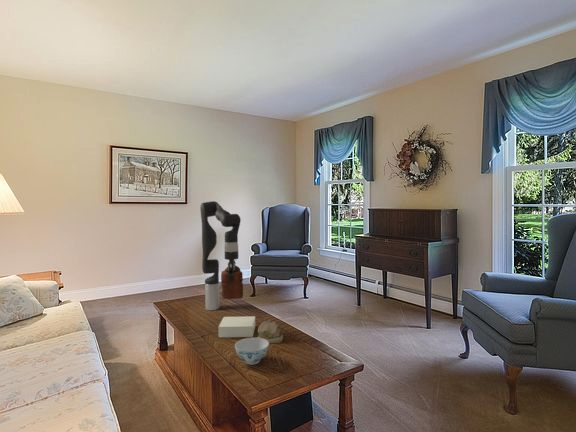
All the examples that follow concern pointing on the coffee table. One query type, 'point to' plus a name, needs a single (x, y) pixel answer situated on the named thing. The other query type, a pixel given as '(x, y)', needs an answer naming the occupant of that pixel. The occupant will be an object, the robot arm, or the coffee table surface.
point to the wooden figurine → (232, 284)
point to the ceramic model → (270, 332)
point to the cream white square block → (237, 326)
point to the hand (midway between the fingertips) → (232, 280)
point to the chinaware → (252, 349)
